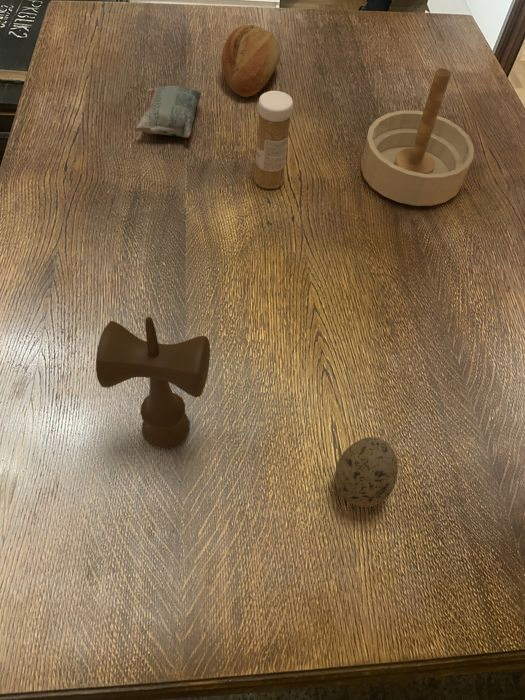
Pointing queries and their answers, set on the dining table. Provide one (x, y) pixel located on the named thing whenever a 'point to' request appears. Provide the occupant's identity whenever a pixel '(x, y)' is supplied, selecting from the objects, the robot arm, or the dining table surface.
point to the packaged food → (170, 111)
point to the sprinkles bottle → (272, 138)
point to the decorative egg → (367, 472)
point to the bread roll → (249, 59)
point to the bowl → (444, 146)
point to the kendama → (155, 377)
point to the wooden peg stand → (425, 129)
